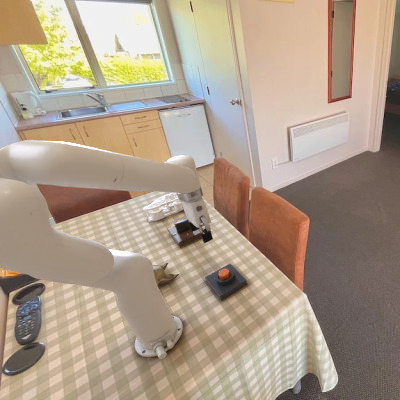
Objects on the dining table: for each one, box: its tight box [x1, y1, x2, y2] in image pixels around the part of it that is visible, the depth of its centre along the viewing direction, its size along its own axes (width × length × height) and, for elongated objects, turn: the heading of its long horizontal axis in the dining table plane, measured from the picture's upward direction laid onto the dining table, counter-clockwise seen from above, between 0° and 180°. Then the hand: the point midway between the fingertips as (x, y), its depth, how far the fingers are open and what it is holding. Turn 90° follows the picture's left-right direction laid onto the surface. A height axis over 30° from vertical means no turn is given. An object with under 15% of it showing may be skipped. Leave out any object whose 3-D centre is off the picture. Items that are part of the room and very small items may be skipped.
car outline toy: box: [142, 192, 184, 223], centre depth 136 cm, size 20×11×7 cm, turn 137°
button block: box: [205, 263, 248, 301], centre depth 96 cm, size 12×10×4 cm
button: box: [218, 269, 230, 280], centre depth 94 cm, size 4×4×2 cm
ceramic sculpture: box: [152, 262, 180, 286], centre depth 94 cm, size 11×9×15 cm
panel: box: [167, 225, 202, 249], centre depth 120 cm, size 14×10×3 cm
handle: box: [173, 217, 191, 234], centre depth 118 cm, size 6×2×5 cm, turn 133°
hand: (202, 235), depth 95 cm, fingers open, 9 cm apart
